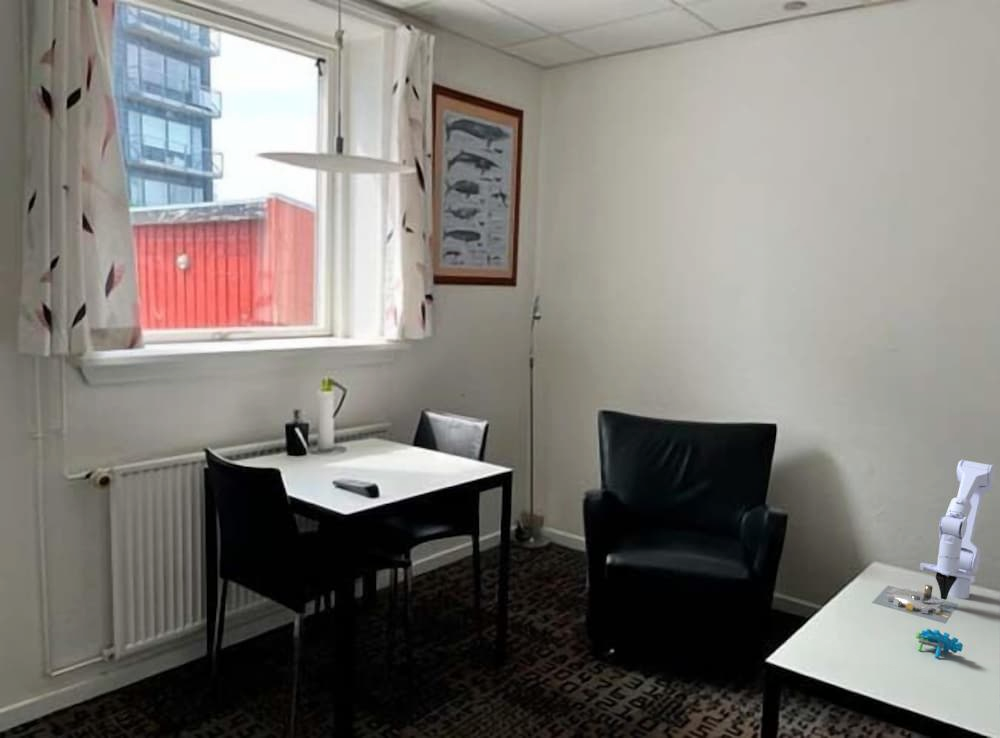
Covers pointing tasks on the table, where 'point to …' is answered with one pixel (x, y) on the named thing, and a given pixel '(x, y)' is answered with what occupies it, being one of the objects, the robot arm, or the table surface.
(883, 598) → the base plate
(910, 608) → the sprocket
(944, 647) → the blue toy dinosaur
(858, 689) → the table surface
